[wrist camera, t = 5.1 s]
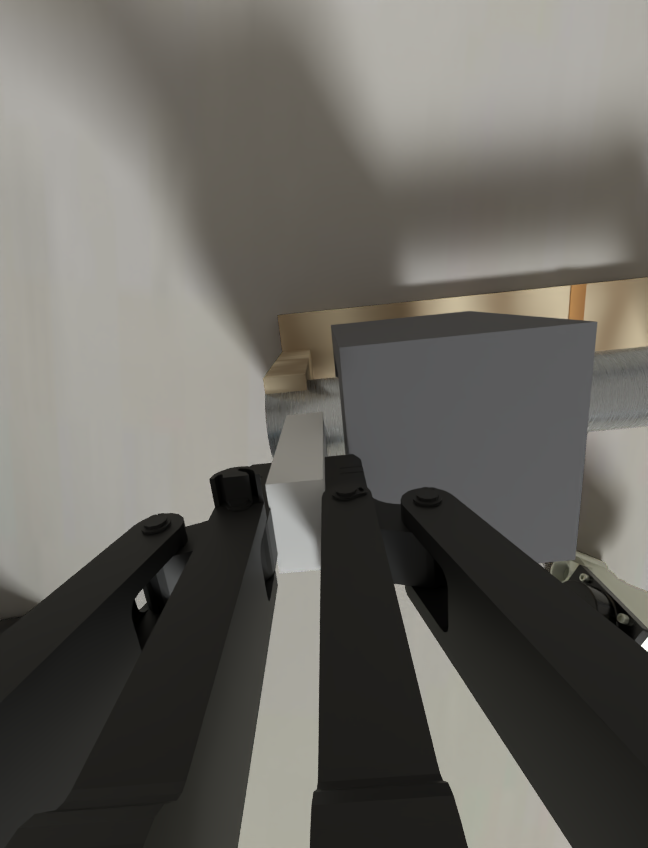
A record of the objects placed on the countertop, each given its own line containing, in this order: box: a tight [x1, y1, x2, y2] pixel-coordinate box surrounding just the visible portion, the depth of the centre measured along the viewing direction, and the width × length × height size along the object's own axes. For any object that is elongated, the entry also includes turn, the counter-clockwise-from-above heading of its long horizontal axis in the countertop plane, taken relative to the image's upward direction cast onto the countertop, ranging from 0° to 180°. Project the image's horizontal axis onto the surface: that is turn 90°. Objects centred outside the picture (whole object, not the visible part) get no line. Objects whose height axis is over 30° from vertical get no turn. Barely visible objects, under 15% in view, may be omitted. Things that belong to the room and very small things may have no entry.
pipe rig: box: [263, 277, 648, 394], centre depth 25 cm, size 29×10×11 cm, turn 96°
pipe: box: [265, 346, 648, 458], centre depth 21 cm, size 29×4×4 cm, turn 96°
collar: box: [331, 311, 598, 563], centre depth 19 cm, size 8×9×12 cm
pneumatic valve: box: [550, 551, 648, 651], centre depth 30 cm, size 6×12×12 cm, turn 67°
